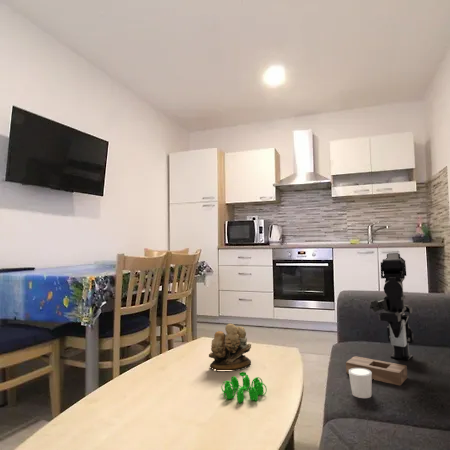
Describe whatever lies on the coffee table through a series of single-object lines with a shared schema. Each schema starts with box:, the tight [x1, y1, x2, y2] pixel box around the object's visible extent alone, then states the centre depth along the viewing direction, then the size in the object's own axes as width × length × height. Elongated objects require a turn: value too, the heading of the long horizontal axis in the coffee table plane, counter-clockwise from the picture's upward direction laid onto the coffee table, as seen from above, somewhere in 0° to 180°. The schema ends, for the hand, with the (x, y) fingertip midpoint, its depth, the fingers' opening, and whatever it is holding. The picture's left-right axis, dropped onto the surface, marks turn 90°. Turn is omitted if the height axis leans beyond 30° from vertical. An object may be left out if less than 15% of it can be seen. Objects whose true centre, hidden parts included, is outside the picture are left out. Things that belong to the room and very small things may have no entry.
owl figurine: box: [208, 323, 252, 371], centre depth 139 cm, size 18×12×17 cm, turn 108°
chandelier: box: [221, 371, 268, 404], centre depth 112 cm, size 15×15×7 cm
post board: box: [345, 355, 408, 386], centre depth 121 cm, size 8×18×4 cm, turn 47°
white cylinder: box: [348, 368, 373, 399], centre depth 107 cm, size 7×7×7 cm
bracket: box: [388, 320, 407, 347], centre depth 125 cm, size 3×4×9 cm, turn 47°
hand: (398, 336), depth 125 cm, fingers closed on bracket, 3 cm apart
